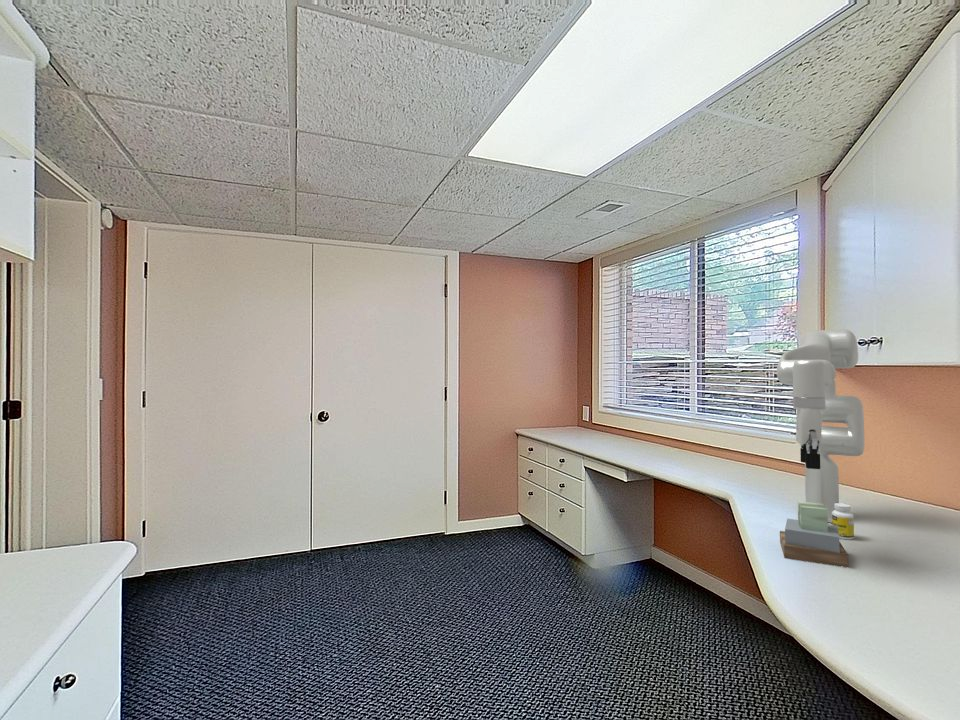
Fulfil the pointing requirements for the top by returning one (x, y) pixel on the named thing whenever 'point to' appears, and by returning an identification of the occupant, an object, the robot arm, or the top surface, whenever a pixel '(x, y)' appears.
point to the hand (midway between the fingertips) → (810, 465)
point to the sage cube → (812, 516)
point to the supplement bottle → (843, 520)
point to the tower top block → (812, 537)
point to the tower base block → (813, 554)
